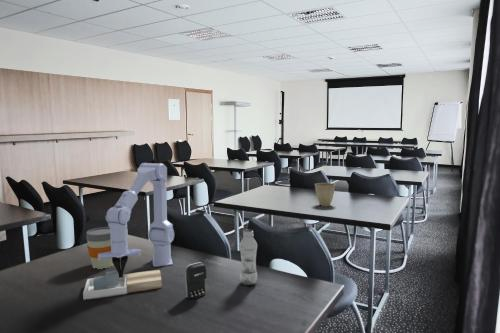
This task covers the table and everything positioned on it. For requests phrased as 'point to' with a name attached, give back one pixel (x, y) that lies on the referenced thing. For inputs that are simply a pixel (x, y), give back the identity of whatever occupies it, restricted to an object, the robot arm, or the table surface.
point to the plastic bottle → (248, 258)
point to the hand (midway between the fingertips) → (121, 276)
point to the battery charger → (195, 280)
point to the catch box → (110, 291)
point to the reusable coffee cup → (99, 246)
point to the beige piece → (144, 281)
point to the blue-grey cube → (111, 278)
